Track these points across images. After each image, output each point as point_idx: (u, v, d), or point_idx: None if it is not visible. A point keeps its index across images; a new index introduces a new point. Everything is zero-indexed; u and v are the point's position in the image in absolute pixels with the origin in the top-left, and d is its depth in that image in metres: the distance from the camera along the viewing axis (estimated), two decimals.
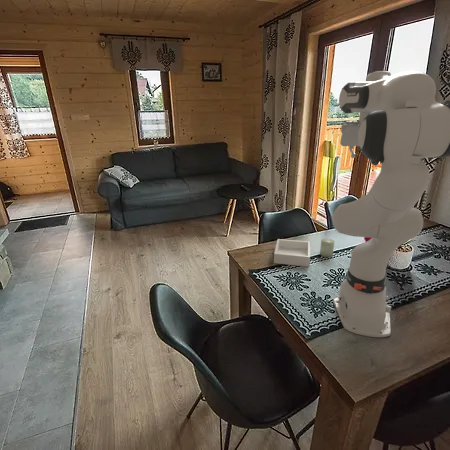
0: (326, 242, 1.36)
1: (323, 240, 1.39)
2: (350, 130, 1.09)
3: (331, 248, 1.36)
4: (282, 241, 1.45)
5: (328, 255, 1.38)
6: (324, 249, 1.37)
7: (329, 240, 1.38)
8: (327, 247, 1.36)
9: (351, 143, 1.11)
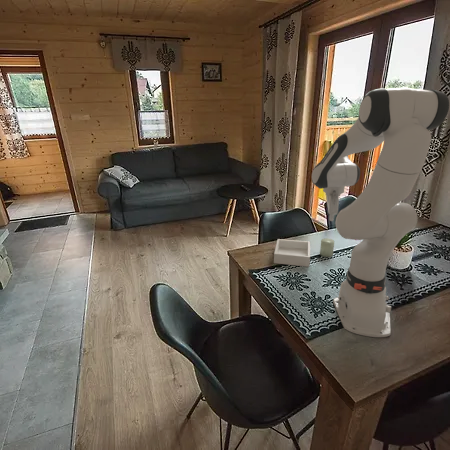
0: (326, 242, 1.36)
1: (323, 240, 1.39)
2: None
3: (331, 248, 1.36)
4: (282, 241, 1.45)
5: (328, 255, 1.38)
6: (324, 249, 1.37)
7: (329, 240, 1.38)
8: (327, 247, 1.36)
9: None
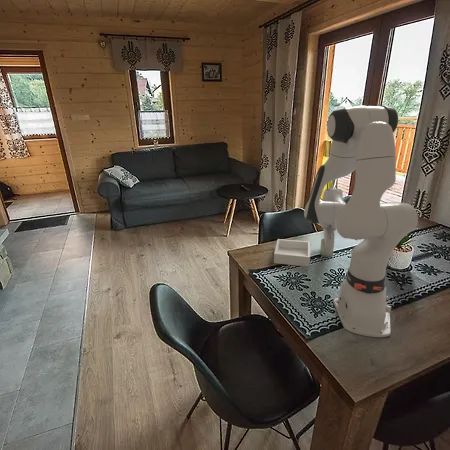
0: None
1: (323, 240, 1.39)
2: None
3: (331, 248, 1.36)
4: (282, 241, 1.45)
5: (328, 255, 1.38)
6: (324, 249, 1.37)
7: None
8: None
9: None
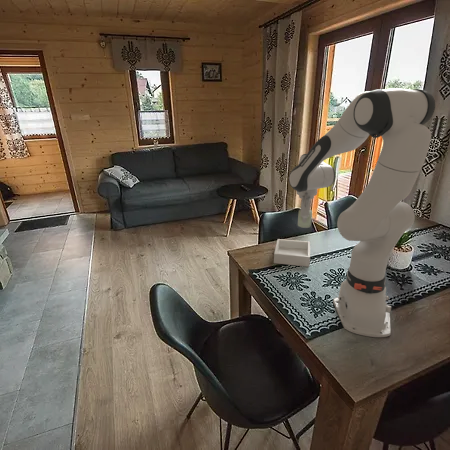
0: None
1: None
2: None
3: (308, 218, 1.29)
4: (282, 241, 1.45)
5: (305, 226, 1.31)
6: None
7: None
8: None
9: None
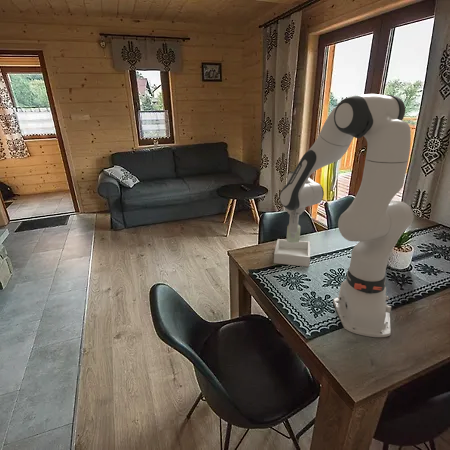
0: None
1: None
2: None
3: (297, 233, 1.32)
4: (282, 241, 1.45)
5: (294, 241, 1.33)
6: (290, 235, 1.33)
7: None
8: None
9: None
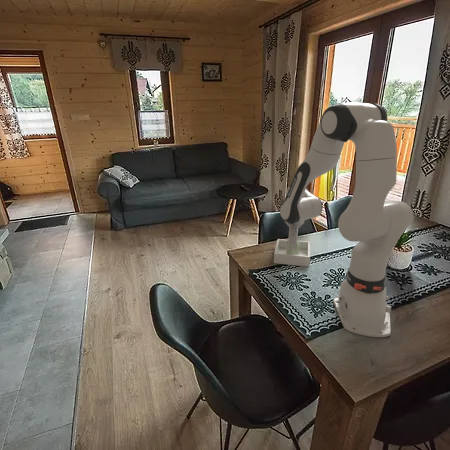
0: None
1: None
2: (297, 231, 1.26)
3: (296, 249, 1.35)
4: (282, 241, 1.45)
5: None
6: (290, 250, 1.35)
7: None
8: None
9: None
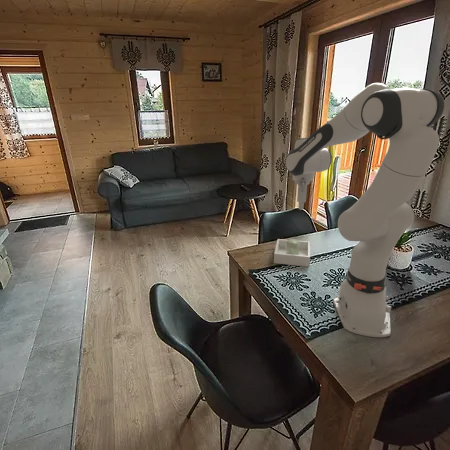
0: (292, 243, 1.35)
1: (289, 241, 1.37)
2: None
3: (296, 249, 1.35)
4: (282, 241, 1.45)
5: None
6: (290, 250, 1.35)
7: (295, 241, 1.36)
8: (292, 248, 1.34)
9: None
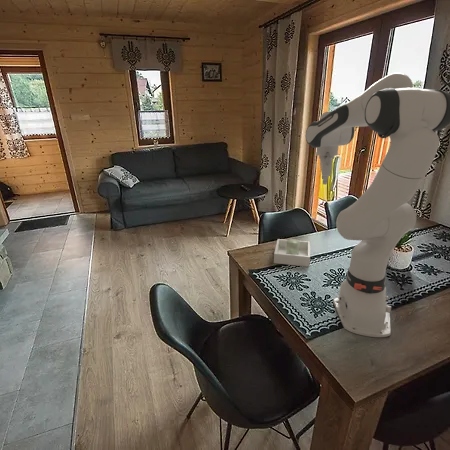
0: (292, 243, 1.35)
1: (289, 241, 1.37)
2: None
3: (296, 249, 1.35)
4: (282, 241, 1.45)
5: None
6: (290, 250, 1.35)
7: (295, 241, 1.36)
8: (292, 248, 1.34)
9: None
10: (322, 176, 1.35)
